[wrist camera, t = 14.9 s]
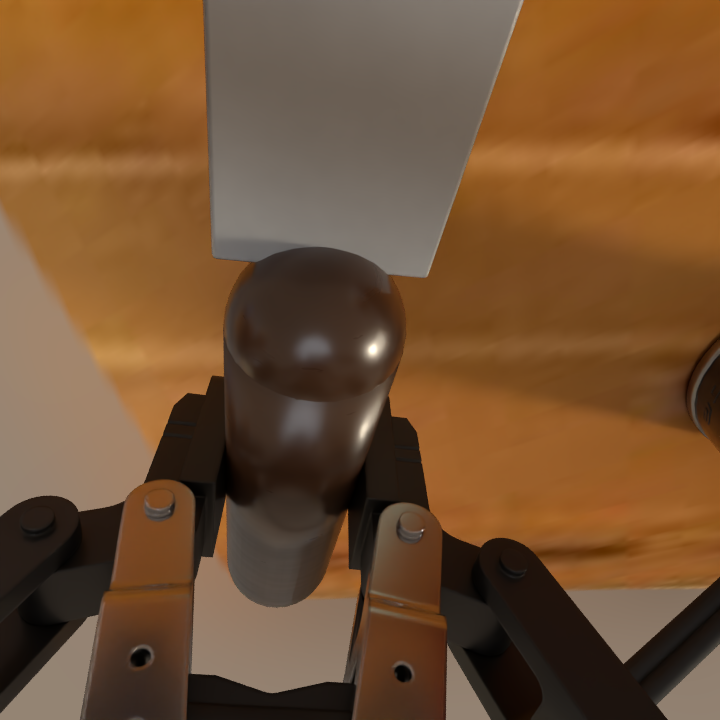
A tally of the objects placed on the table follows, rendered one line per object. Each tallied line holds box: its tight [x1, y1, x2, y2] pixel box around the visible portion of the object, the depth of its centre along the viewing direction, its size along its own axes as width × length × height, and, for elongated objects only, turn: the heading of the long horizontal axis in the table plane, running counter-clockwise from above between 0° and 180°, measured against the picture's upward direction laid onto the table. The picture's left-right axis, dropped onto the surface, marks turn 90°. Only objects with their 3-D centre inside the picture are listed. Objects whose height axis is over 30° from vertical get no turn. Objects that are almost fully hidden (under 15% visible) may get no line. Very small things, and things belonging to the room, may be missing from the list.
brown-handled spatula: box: [203, 0, 524, 608], centre depth 11 cm, size 20×3×3 cm, turn 170°
